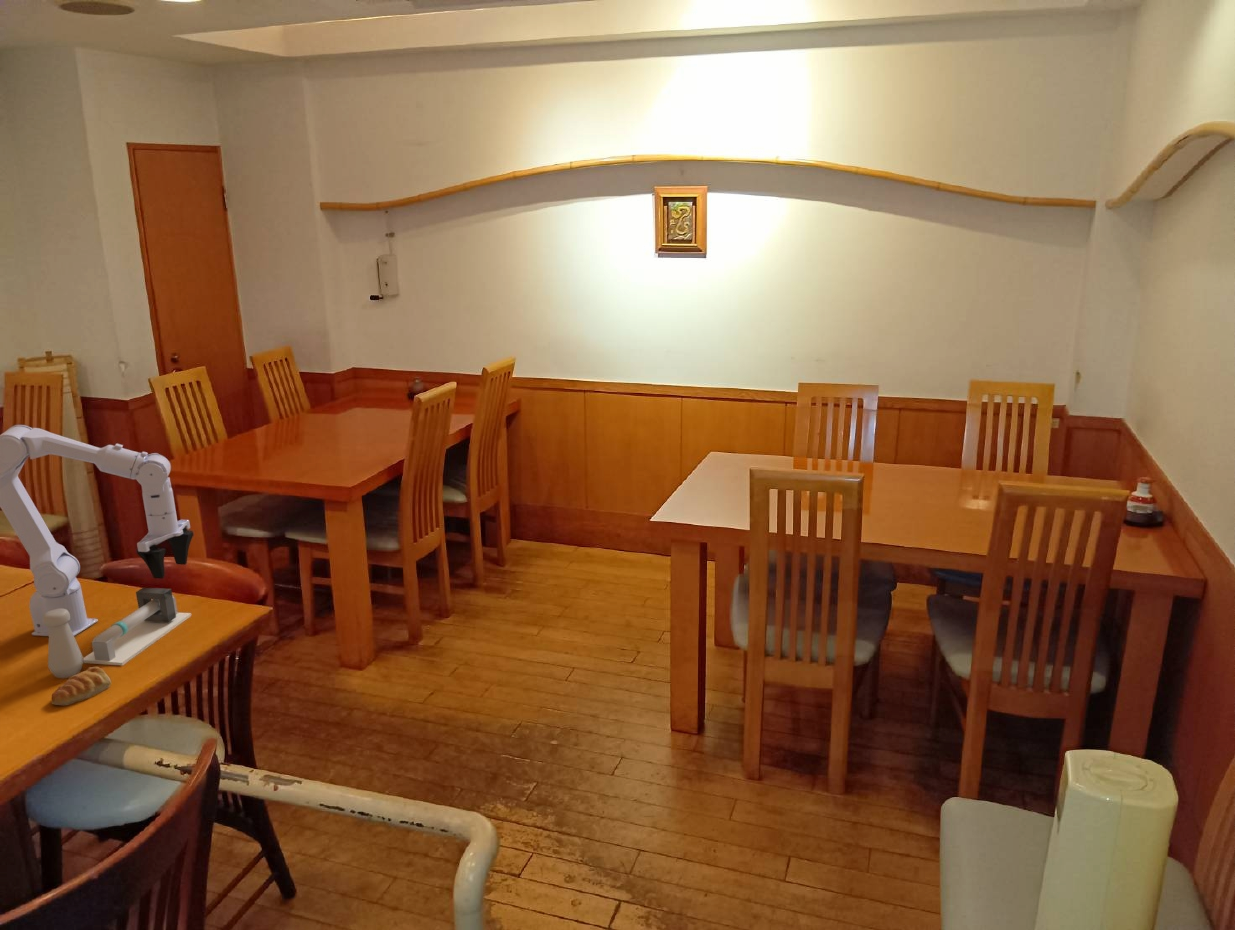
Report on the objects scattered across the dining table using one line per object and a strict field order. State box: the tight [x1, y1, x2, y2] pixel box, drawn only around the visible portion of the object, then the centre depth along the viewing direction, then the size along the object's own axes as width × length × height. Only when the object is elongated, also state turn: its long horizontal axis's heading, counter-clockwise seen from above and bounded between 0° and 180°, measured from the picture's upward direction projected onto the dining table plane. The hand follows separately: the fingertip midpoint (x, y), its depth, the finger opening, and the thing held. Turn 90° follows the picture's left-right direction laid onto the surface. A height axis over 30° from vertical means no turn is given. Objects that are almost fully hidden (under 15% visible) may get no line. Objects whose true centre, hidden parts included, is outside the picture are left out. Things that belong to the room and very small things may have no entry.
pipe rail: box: [83, 594, 192, 666], centre depth 180 cm, size 22×9×6 cm, turn 172°
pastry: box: [51, 666, 112, 706], centre depth 159 cm, size 9×7×4 cm
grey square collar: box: [135, 587, 176, 622], centre depth 186 cm, size 2×7×7 cm, turn 82°
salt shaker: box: [43, 609, 84, 680], centre depth 165 cm, size 6×6×13 cm
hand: (170, 570), depth 188 cm, fingers open, 7 cm apart
